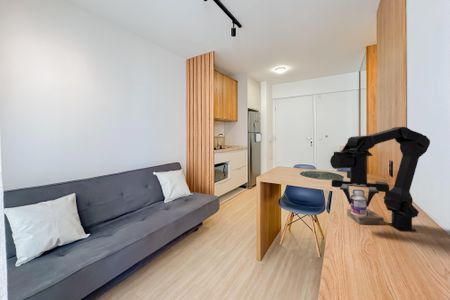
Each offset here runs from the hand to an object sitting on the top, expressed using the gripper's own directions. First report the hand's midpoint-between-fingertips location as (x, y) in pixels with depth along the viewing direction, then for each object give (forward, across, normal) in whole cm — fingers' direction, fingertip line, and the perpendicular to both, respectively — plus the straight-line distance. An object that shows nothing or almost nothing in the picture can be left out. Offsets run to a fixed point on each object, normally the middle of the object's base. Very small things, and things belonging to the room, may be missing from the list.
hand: (358, 205), depth 78 cm
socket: (+11, -2, -15) cm, 19 cm away
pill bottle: (+4, 0, 0) cm, 4 cm away
